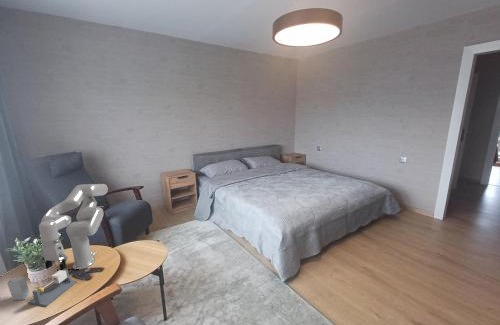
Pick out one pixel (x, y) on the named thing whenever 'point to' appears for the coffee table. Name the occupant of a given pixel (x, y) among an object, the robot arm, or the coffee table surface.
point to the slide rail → (51, 291)
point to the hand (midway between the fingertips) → (56, 268)
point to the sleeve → (59, 276)
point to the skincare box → (18, 288)
